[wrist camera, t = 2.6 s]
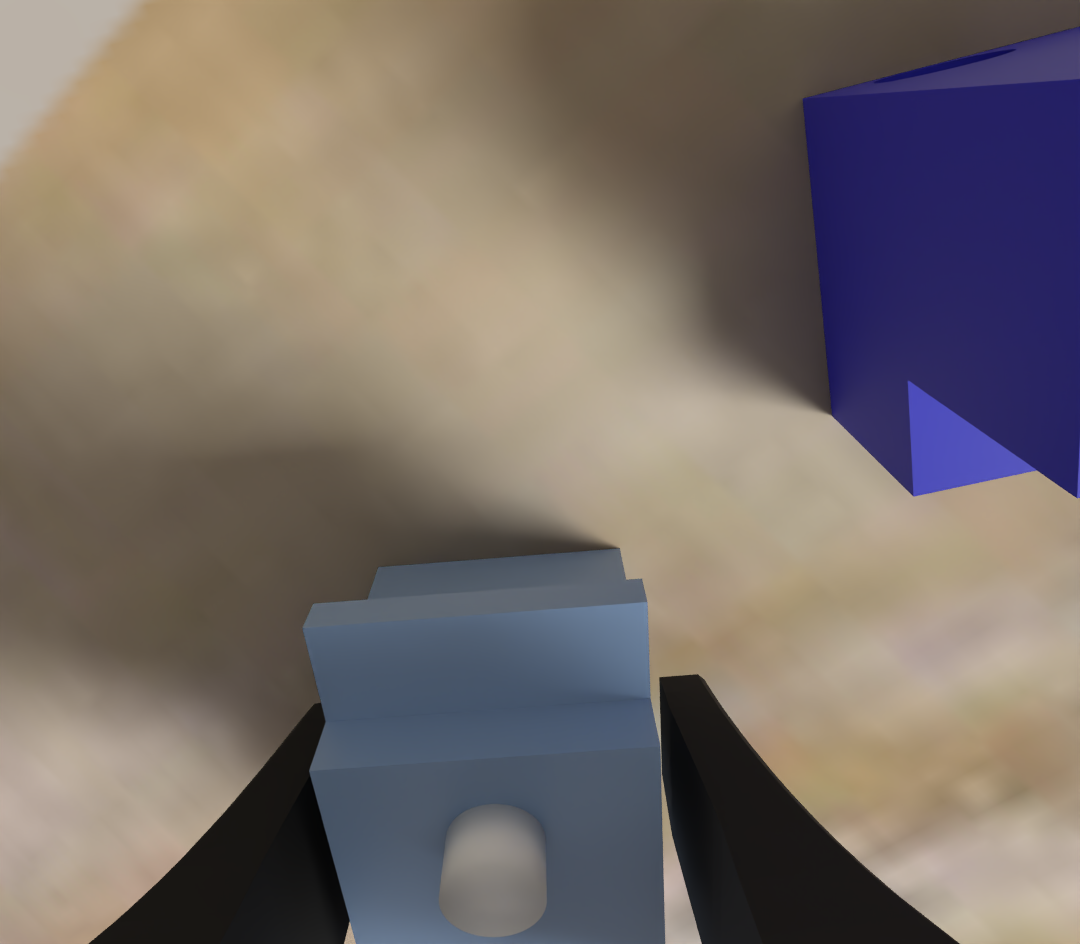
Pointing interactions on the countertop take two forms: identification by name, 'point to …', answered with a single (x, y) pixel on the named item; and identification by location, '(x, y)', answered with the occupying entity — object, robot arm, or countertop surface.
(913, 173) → the blue saddle bracket
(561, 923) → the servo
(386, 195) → the countertop surface
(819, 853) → the robot arm
